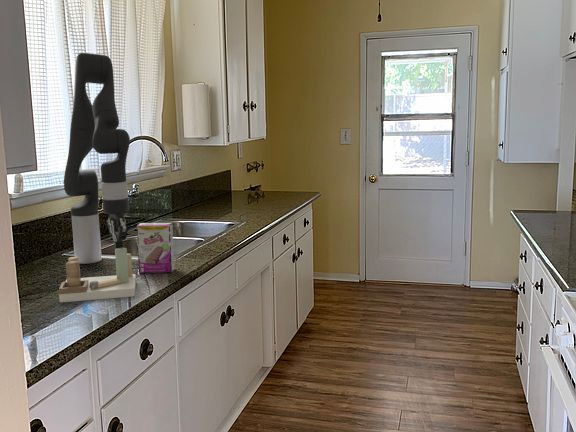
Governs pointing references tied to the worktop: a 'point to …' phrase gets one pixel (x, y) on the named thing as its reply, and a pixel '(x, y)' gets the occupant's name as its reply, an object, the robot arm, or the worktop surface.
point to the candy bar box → (155, 247)
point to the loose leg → (73, 274)
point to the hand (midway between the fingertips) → (119, 252)
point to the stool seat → (99, 293)
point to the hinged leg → (120, 270)
